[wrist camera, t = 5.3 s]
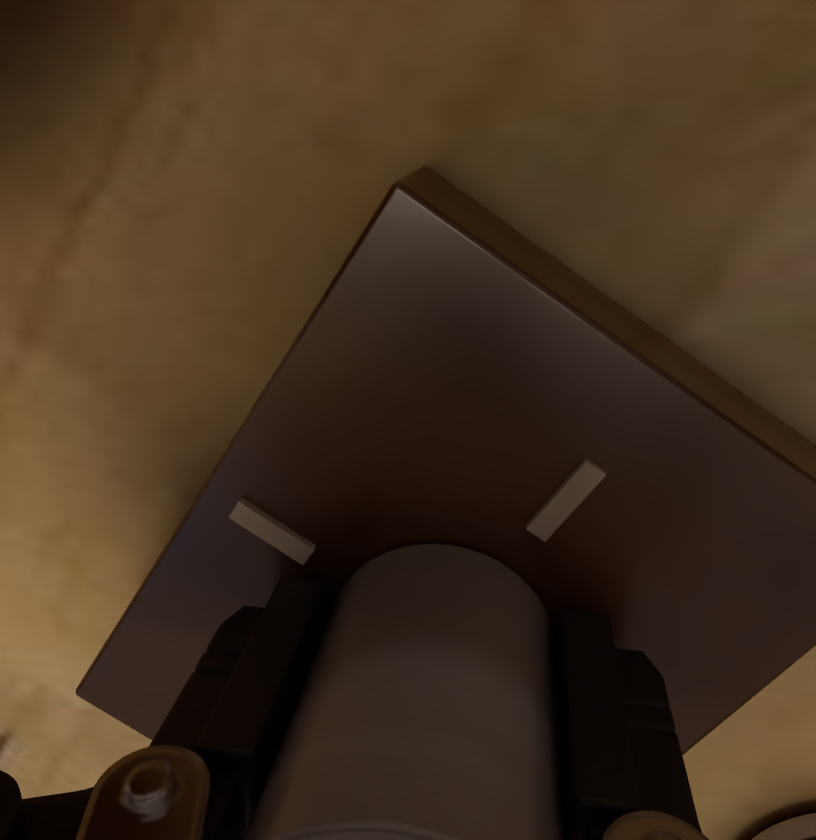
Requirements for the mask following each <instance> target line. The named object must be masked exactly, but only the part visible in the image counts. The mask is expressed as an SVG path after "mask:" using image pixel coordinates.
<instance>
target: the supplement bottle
mask: <svg viewBox="0 0 816 840" xmlns="http://www.w3.org/2000/svg"><path fill="white" fill-rule="evenodd" d="M751 840H816V813H812V814H807V815H802V816H798V817H794V818H791V819H788V820H786V821H783V822H780V823H777V824H775V825H773V826H771V827H769V828H768V829H766V830H764V831H762V832H761V833H760V834H758V835H757V836H755V837H754V838H753V839H751Z"/></svg>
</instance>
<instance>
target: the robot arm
mask: <svg viewBox="0 0 816 840" xmlns="http://www.w3.org/2000/svg"><path fill="white" fill-rule="evenodd" d="M328 618H329V589H328V585H327V583H326V582H318V581H308V580H299V579H290V578H281V579H280V580H279V581H278V583H277V585H276V587H275V589H274V591H273V593H272V594H271V596H270V598H269V600H268V602H267V604H266V606H265V608H262V607H253V606H244V607H242V608H241V609H240V610H238V611H237V612H236V613H234V614H233V615H232V616H231V617H229V618H228V619H227V620H225V621H224V622H223V623H222V624H220V626H219V628H218V629H217V631H216V633H215V634H214V636H213V638H212V640H211V641H210V643H209V645H208V646H207V650H206V653H203V655H202V657H201V658H200V660H199V662H198V664H197V665H196V667H195V672H194V673H192V674H191V676H190V677H189V679H188V681H187V682H186V684H185V686H184V688H183V689H182V691H181V693H180V694H179V696H178V698H177V700H176V701H175V703H174V705H173V706H172V708H171V710H170V712H169V713H168V715H167V717H166V718H165V720H164V722H163V724H162V725H161V727H160V729H159V730H158V732H157V734H156V736H155V737H154V739H153V741H152V742H151V744H150V746H149V747H147V748H143V749H140V750H138V751H135V752H132V753H130V754H128V755H126V756H125V757H123V758H121V759H120V760H118V761H117V762H115V763H114V764H113V765H112V766H111V767H109V768H108V769H107V770H106V771H105V772H104V773H103V775H102V776H101V777H100V778H99V780H98V781H97V783H96V784H95V786H94V787H92V788H89V789H85V790H80V791H75V792H69V793H62V794H55V795H48V796H41V797H34V798H27V799H22V797H21V792H20V789H19V786H18V784H17V782H16V781H15V779H14V778H13V777H11V776H10V775H9V774H7V773H5V772H3V771H1V770H0V840H244V837H245V835H246V832H247V829H248V827H249V824H250V822H251V819H252V816H253V814H254V811H255V808H256V806H257V803H258V801H259V798H260V795H261V793H262V790H263V788H264V785H265V782H266V780H267V777H268V775H269V772H270V769H271V767H272V764H273V762H274V759H275V756H276V754H277V751H278V749H279V746H280V743H281V741H282V738H283V736H284V733H285V730H286V728H287V725H288V722H289V720H290V717H291V715H292V712H293V709H294V707H295V704H296V702H297V699H298V696H299V694H300V691H301V689H302V686H303V683H304V681H305V678H306V676H307V673H308V670H309V668H310V665H311V663H312V660H313V657H314V655H315V652H316V650H317V647H318V644H319V642H320V639H321V636H322V634H323V631H324V629H325V626H326V623H327V621H328ZM554 658H555V676H556V694H557V712H558V730H559V748H560V766H561V784H562V802H563V820H564V838H565V840H709V839H708V838H707V837H706V836H705V835H704V834H702V831H701V828H700V825H699V822H698V818H697V814H696V810H695V806H694V802H693V798H692V794H691V789H690V785H689V781H688V777H687V773H686V769H685V765H684V761H683V757H682V753H681V748H680V744H679V740H678V736H677V734H675V724H674V720H673V716H672V712H671V710H670V703H669V699H668V695H667V691H666V687H665V683H664V679H663V676H662V675H661V674H660V672H659V671H658V670H657V669H656V667H655V666H654V665H653V663H652V662H651V661H650V660H649V658H648V657H647V656H646V655H645V653H644V652H643V651H637V650H628V649H619V648H615V645H614V639H613V633H612V627H611V621H610V616H609V614H608V613H600V612H590V611H581V610H572V609H563V608H561V609H560V611H559V616H558V622H557V630H556V638H555V646H554Z"/></svg>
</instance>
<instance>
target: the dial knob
mask: <svg viewBox="0 0 816 840" xmlns="http://www.w3.org/2000/svg"><path fill="white" fill-rule="evenodd" d="M244 840H565V838H564V820H563V802H562V784H561V766H560V748H559V730H558V712H557V694H556V676H555V658H554V641H553V632H552V627H551V623H550V620H549V617H548V615H547V612H546V610H545V608H544V606H543V605H542V603H541V601H540V599H539V598H538V596H537V595H536V594H535V592H534V591H533V590H532V589H531V587H530V586H529V585H528V584H527V583H526V582H525V581H524V580H523V579H522V578H521V577H520V576H519V575H518V574H516V573H515V572H514V571H512V570H511V569H510V568H508V567H507V566H506V565H504V564H502V563H500V562H499V561H497V560H495V559H494V558H491V557H489V556H487V555H484V554H482V553H480V552H477V551H474V550H470V549H467V548H463V547H458V546H453V545H445V544H418V545H412V546H405V547H402V548H398V549H395V550H391V551H389V552H387V553H384V554H382V555H379V556H377V557H376V558H374V559H372V560H371V561H369V562H367V563H366V564H364V565H363V566H362V567H361V568H359V569H358V570H357V571H356V572H355V573H354V574H353V575H352V576H351V577H350V578H349V579H348V580H347V581H346V583H345V584H344V586H343V587H342V589H341V590H340V592H339V594H338V596H337V598H336V600H335V603H334V605H333V608H332V610H331V613H330V616H329V618H328V621H327V623H326V626H325V629H324V631H323V634H322V636H321V639H320V642H319V644H318V647H317V650H316V652H315V655H314V657H313V660H312V663H311V665H310V668H309V670H308V673H307V676H306V678H305V681H304V683H303V686H302V689H301V691H300V694H299V696H298V699H297V702H296V704H295V707H294V709H293V712H292V715H291V717H290V720H289V722H288V725H287V728H286V730H285V733H284V736H283V738H282V741H281V743H280V746H279V749H278V751H277V754H276V756H275V759H274V762H273V764H272V767H271V769H270V772H269V775H268V777H267V780H266V782H265V785H264V788H263V790H262V793H261V795H260V798H259V801H258V803H257V806H256V808H255V811H254V814H253V816H252V819H251V822H250V824H249V827H248V829H247V832H246V835H245V837H244Z"/></svg>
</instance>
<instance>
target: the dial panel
mask: <svg viewBox="0 0 816 840" xmlns="http://www.w3.org/2000/svg"><path fill="white" fill-rule="evenodd" d="M418 544H445V545H453V546H458V547H463V548H467V549H470V550H474V551H477V552H480V553H482V554H484V555H487V556H489V557H491V558H494V559H495V560H497V561H499V562H500V563H502V564H504V565H506V566H507V567H508V568H510V569H511V570H512V571H514V572H515V573H516V574H518V575H519V576H520V577H521V578H522V579H523V580H524V581H525V582H526V583H527V584H528V585H529V586H530V587H531V589H532V590H533V591H534V592H535V594H536V595H537V596H538V598H539V599H540V601H541V603H542V605H543V606H544V608H545V610H546V612H547V615H548V617H549V620H550V623H551V627H552V632H553V641H554V646H555V638H556V630H557V622H558V616H559V611H560V609H561V608H563V609H572V610H581V611H590V612H600V613H608V614H609V616H610V621H611V627H612V633H613V639H614V645H615V648H619V649H628V650H637V651H643V652H644V653H645V655H646V656H647V657H648V658H649V660H650V661H651V662H652V663H653V665H654V666H655V667H656V669H657V670H658V671H659V672H660V674H661V675H662V676H663V679H664V683H665V687H666V691H667V695H668V699H669V703H670V710H671V712H672V716H673V720H674V724H675V734H677V736H678V740H679V744H680V748H681V753H682V755H683V754H684V753H686V752H687V751H688V750H689V749H690V748H692V747H693V746H694V745H695V744H696V743H698V742H699V741H700V740H701V739H702V738H704V737H705V736H706V735H707V734H709V733H710V732H711V731H712V730H713V729H715V728H716V727H717V726H718V725H719V724H721V723H722V722H723V721H724V720H726V719H727V718H728V717H729V716H730V715H732V714H733V713H734V712H735V711H736V710H738V709H739V708H740V707H741V706H743V705H744V704H745V703H746V702H747V701H749V700H750V699H751V698H752V697H753V696H755V695H756V694H757V693H758V692H760V691H761V690H762V689H763V688H764V687H766V686H767V685H768V684H769V683H770V682H772V681H773V680H774V679H775V678H777V677H778V676H779V675H780V674H781V673H783V672H784V671H785V670H786V669H787V668H789V667H790V666H791V665H792V664H794V663H795V662H796V661H797V660H798V659H800V658H801V657H802V656H803V655H804V654H806V653H807V652H808V651H809V650H810V649H812V648H813V647H814V646H815V645H816V446H814V445H813V444H811V443H810V442H809V441H807V440H806V439H804V438H803V437H802V436H800V435H799V434H798V433H796V432H795V431H793V430H792V429H791V428H789V427H788V426H786V425H785V424H784V423H782V422H781V421H779V420H778V419H777V418H775V417H774V416H772V415H771V414H770V413H768V412H767V411H766V410H764V409H763V408H761V407H760V406H759V405H757V404H756V403H754V402H753V401H752V400H750V399H749V398H747V397H746V396H745V395H743V394H742V393H740V392H739V391H738V390H736V389H735V388H734V387H732V386H731V385H729V384H728V383H727V382H725V381H724V380H722V379H721V378H720V377H718V376H717V375H715V374H714V373H713V372H711V371H710V370H708V369H707V368H706V367H704V366H703V365H702V364H700V363H699V362H697V361H696V360H695V359H693V358H692V357H690V356H689V355H688V354H686V353H685V352H683V351H682V350H681V349H679V348H678V347H677V346H675V345H674V344H672V343H671V342H670V341H668V340H667V339H665V338H664V337H663V336H661V335H660V334H658V333H657V332H656V331H654V330H653V329H651V328H650V327H649V326H647V325H646V324H645V323H643V322H642V321H640V320H639V319H638V318H636V317H635V316H633V315H632V314H631V313H629V312H628V311H626V310H625V309H624V308H622V307H621V306H619V305H618V304H617V303H615V302H614V301H613V300H611V299H610V298H608V297H607V296H606V295H604V294H603V293H601V292H600V291H599V290H597V289H596V288H594V287H593V286H592V285H590V284H589V283H587V282H586V281H585V280H583V279H582V278H581V277H579V276H578V275H576V274H575V273H574V272H572V271H571V270H569V269H568V268H567V267H565V266H564V265H562V264H561V263H560V262H558V261H557V260H555V259H554V258H553V257H551V256H550V255H549V254H547V253H546V252H544V251H543V250H542V249H540V248H539V247H537V246H536V245H535V244H533V243H532V242H530V241H529V240H528V239H526V238H525V237H523V236H522V235H521V234H519V233H518V232H517V231H515V230H514V229H512V228H511V227H510V226H508V225H507V224H505V223H504V222H503V221H501V220H500V219H498V218H497V217H496V216H494V215H493V214H491V213H490V212H489V211H487V210H486V209H485V208H483V207H482V206H480V205H479V204H478V203H476V202H475V201H473V200H472V199H471V198H469V197H468V196H466V195H465V194H464V193H462V192H461V191H459V190H458V189H457V188H455V187H454V186H453V185H451V184H450V183H448V182H447V181H446V180H444V179H443V178H441V177H440V176H439V175H437V174H436V173H434V172H433V171H432V170H430V169H429V168H427V167H422V168H420V169H418V170H416V171H415V172H413V173H411V174H409V175H408V176H406V177H404V178H402V179H401V180H399V181H397V182H396V183H394V184H393V185H392V186H391V188H390V189H389V191H388V192H387V194H386V196H385V197H384V199H383V200H382V202H381V204H380V205H379V207H378V208H377V210H376V212H375V213H374V215H373V216H372V218H371V220H370V221H369V223H368V224H367V226H366V228H365V229H364V231H363V232H362V234H361V235H360V237H359V239H358V240H357V242H356V243H355V245H354V247H353V248H352V250H351V251H350V253H349V255H348V256H347V258H346V259H345V261H344V263H343V264H342V266H341V267H340V269H339V271H338V272H337V274H336V275H335V277H334V279H333V280H332V282H331V283H330V285H329V287H328V288H327V290H326V291H325V293H324V294H323V296H322V298H321V299H320V301H319V302H318V304H317V306H316V307H315V309H314V310H313V312H312V314H311V315H310V317H309V318H308V320H307V322H306V323H305V325H304V326H303V328H302V330H301V331H300V333H299V334H298V336H297V338H296V339H295V341H294V342H293V344H292V346H291V347H290V349H289V350H288V352H287V354H286V355H285V357H284V358H283V360H282V361H281V363H280V365H279V366H278V368H277V369H276V371H275V373H274V374H273V376H272V377H271V379H270V381H269V382H268V384H267V385H266V387H265V389H264V390H263V392H262V393H261V395H260V397H259V398H258V400H257V401H256V403H255V405H254V406H253V408H252V409H251V411H250V413H249V414H248V416H247V417H246V419H245V420H244V422H243V424H242V425H241V427H240V428H239V430H238V432H237V433H236V435H235V436H234V438H233V440H232V441H231V443H230V444H229V446H228V448H227V449H226V451H225V452H224V454H223V456H222V457H221V459H220V460H219V462H218V464H217V465H216V467H215V468H214V470H213V472H212V473H211V475H210V476H209V478H208V480H207V481H206V483H205V484H204V486H203V487H202V489H201V491H200V492H199V494H198V495H197V497H196V499H195V500H194V502H193V503H192V505H191V507H190V508H189V510H188V511H187V513H186V515H185V516H184V518H183V519H182V521H181V523H180V524H179V526H178V527H177V529H176V531H175V532H174V534H173V535H172V537H171V539H170V540H169V542H168V543H167V545H166V546H165V548H164V550H163V551H162V553H161V554H160V556H159V558H158V559H157V561H156V562H155V564H154V566H153V567H152V569H151V570H150V572H149V574H148V575H147V577H146V578H145V580H144V582H143V583H142V585H141V586H140V588H139V590H138V591H137V593H136V594H135V596H134V598H133V599H132V601H131V602H130V604H129V606H128V607H127V609H126V610H125V612H124V613H123V615H122V617H121V618H120V620H119V621H118V623H117V625H116V626H115V628H114V629H113V631H112V633H111V634H110V636H109V637H108V639H107V641H106V642H105V644H104V645H103V647H102V649H101V650H100V652H99V653H98V655H97V657H96V658H95V660H94V661H93V663H92V665H91V666H90V668H89V669H88V671H87V672H86V674H85V676H84V677H83V679H82V680H81V682H80V684H79V685H78V687H77V688H76V694H77V696H79V697H80V698H82V699H84V700H86V701H87V702H89V703H91V704H92V705H94V706H96V707H97V708H99V709H101V710H102V711H104V712H106V713H107V714H109V715H111V716H112V717H114V718H116V719H117V720H119V721H121V722H122V723H124V724H126V725H127V726H129V727H131V728H132V729H134V730H136V731H137V732H139V733H141V734H142V735H144V736H146V737H147V738H149V739H151V740H152V741H153V739H154V737H155V736H156V734H157V732H158V730H159V729H160V727H161V725H162V724H163V722H164V720H165V718H166V717H167V715H168V713H169V712H170V710H171V708H172V706H173V705H174V703H175V701H176V700H177V698H178V696H179V694H180V693H181V691H182V689H183V688H184V686H185V684H186V682H187V681H188V679H189V677H190V676H191V674H192V673H194V672H195V667H196V665H197V664H198V662H199V660H200V658H201V657H202V655H203V653H206V650H207V646H208V645H209V643H210V641H211V640H212V638H213V636H214V634H215V633H216V631H217V629H218V628H219V626H220V624H222V623H223V622H224V621H225V620H227V619H228V618H229V617H231V616H232V615H233V614H234V613H236V612H237V611H238V610H240V609H241V608H242V607H244V606H253V607H262V608H265V606H266V604H267V602H268V600H269V598H270V596H271V594H272V593H273V591H274V589H275V587H276V585H277V583H278V581H279V580H280V579H281V578H290V579H299V580H308V581H318V582H326V583H327V585H328V589H329V616H330V613H331V610H332V608H333V605H334V603H335V600H336V598H337V596H338V594H339V592H340V590H341V589H342V587H343V586H344V584H345V583H346V581H347V580H348V579H349V578H350V577H351V576H352V575H353V574H354V573H355V572H356V571H357V570H358V569H359V568H361V567H362V566H363V565H364V564H366V563H367V562H369V561H371V560H372V559H374V558H376V557H377V556H379V555H382V554H384V553H387V552H389V551H391V550H395V549H398V548H402V547H405V546H412V545H418Z"/></svg>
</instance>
